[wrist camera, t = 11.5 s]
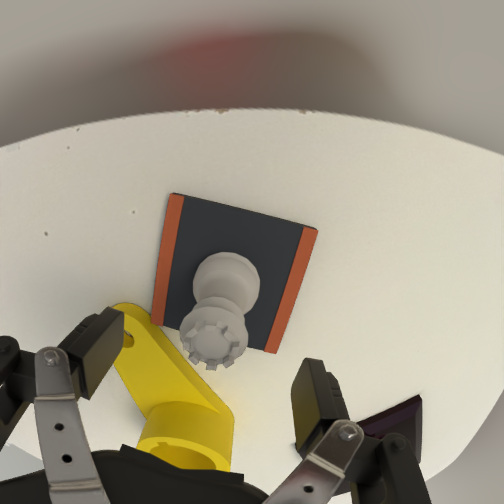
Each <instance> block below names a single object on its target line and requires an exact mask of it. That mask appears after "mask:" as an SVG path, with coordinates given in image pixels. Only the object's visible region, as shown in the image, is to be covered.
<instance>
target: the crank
mask: <svg viewBox="0 0 504 504" xmlns="http://www.w3.org/2000/svg"><path fill="white" fill-rule="evenodd" d="M112 308H114V309H117V310H120V311H123V312H124V330H126V331H128V332H129V333H130V334H131V335H132V336H133V337H131V336H129V335H127V334H126V333H125V331H124V342H123V347H122V350H121V352H120V354H119V355H118V357H117V358H116V360H115V361H114V363H113V364H114V366H115V368H116V370H117V371H118V373H119V375H120V377H121V379H122V380H123V382H124V384H125V386H126V387H127V389H128V391H129V393H130V394H131V396H132V398H133V399H134V401H135V403H136V404H137V406H138V407H139V409H140V410H141V412H142V414H143V415H144V417H145V418H146V420H147V421H146V423H145V426H144V428H143V431H142V434H141V436H140V439H139V441H138V444H137V447H136V449H138V450H141V451H144V452H148V453H151V454H153V455H155V456H156V457H158V458H160V459H162V460H164V461H166V462H168V463H170V464H172V465H174V466H176V467H178V468H181V469H215V470H220V471H226V472H230V467H231V455H232V444H233V432H234V416H233V414H232V412H231V410H230V409H229V408H228V407H227V406H226V405H225V404H224V402H223V401H222V400H221V399H220V398H219V397H218V396H217V395H216V394H215V393H214V392H213V391H212V390H211V389H210V387H209V386H208V385H207V384H206V383H205V382H204V381H203V380H202V379H201V377H200V376H199V375H198V374H197V373H196V372H195V371H194V369H193V368H192V367H191V366H190V365H189V364H188V362H187V361H186V360H185V359H184V358H183V357H182V355H181V354H180V353H179V352H178V350H177V349H176V348H175V347H174V346H173V344H172V343H171V342H170V341H169V339H168V338H167V337H166V336H165V334H164V333H163V332H162V330H161V329H160V328H159V327H158V325H155V324H152V323H151V316H150V315H149V314H148V313H147V312H146V311H145V310H144V309H142V308H140V307H139V306H136V305H134V304H130V303H120V304H117V305H115V306H114V307H112Z"/></svg>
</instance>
